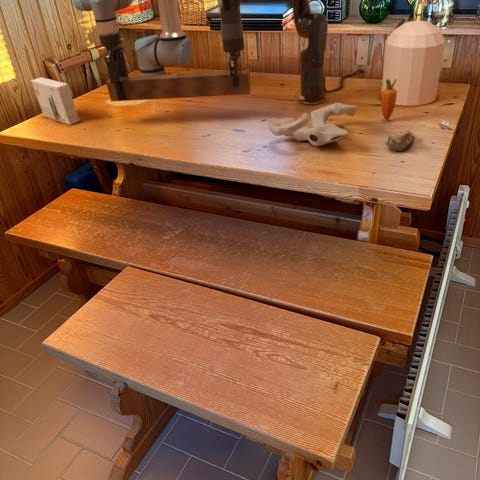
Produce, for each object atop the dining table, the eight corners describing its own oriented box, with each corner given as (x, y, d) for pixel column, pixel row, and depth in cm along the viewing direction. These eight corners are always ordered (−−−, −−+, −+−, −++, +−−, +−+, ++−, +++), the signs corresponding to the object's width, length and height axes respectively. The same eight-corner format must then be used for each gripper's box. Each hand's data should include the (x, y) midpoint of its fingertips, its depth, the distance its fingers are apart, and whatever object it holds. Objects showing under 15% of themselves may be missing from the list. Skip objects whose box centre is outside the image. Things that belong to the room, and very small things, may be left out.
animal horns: (266, 154, 150) (264, 118, 144) (276, 126, 172) (275, 94, 165) (355, 154, 144) (357, 117, 138) (355, 125, 166) (356, 92, 159)
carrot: (394, 118, 167) (398, 76, 158) (393, 123, 163) (397, 80, 154) (379, 117, 168) (383, 75, 160) (378, 122, 165) (382, 80, 156)
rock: (408, 140, 153) (379, 139, 152) (414, 122, 149) (384, 120, 148) (421, 154, 144) (391, 153, 143) (428, 135, 140) (396, 133, 139)
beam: (111, 101, 179) (105, 81, 174) (115, 97, 183) (110, 77, 179) (249, 94, 170) (248, 73, 166) (251, 89, 174) (249, 69, 170)
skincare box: (42, 117, 201) (30, 80, 192) (53, 113, 205) (42, 76, 196) (69, 125, 189) (57, 86, 180) (80, 121, 193) (69, 82, 184)
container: (406, 109, 173) (416, 29, 157) (369, 95, 189) (375, 21, 173) (448, 97, 179) (462, 19, 163) (409, 85, 195) (418, 12, 180)
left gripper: (110, 38, 158) (126, 104, 172) (126, 27, 173) (140, 89, 186) (89, 39, 160) (107, 105, 173) (108, 28, 174) (122, 90, 188)
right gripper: (240, 40, 155) (245, 90, 165) (245, 30, 167) (249, 78, 176) (218, 41, 156) (224, 91, 166) (225, 32, 168) (230, 79, 178)
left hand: (124, 97), depth 180 cm, fingers closed on beam, 5 cm apart
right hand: (237, 84), depth 171 cm, fingers closed on beam, 5 cm apart
